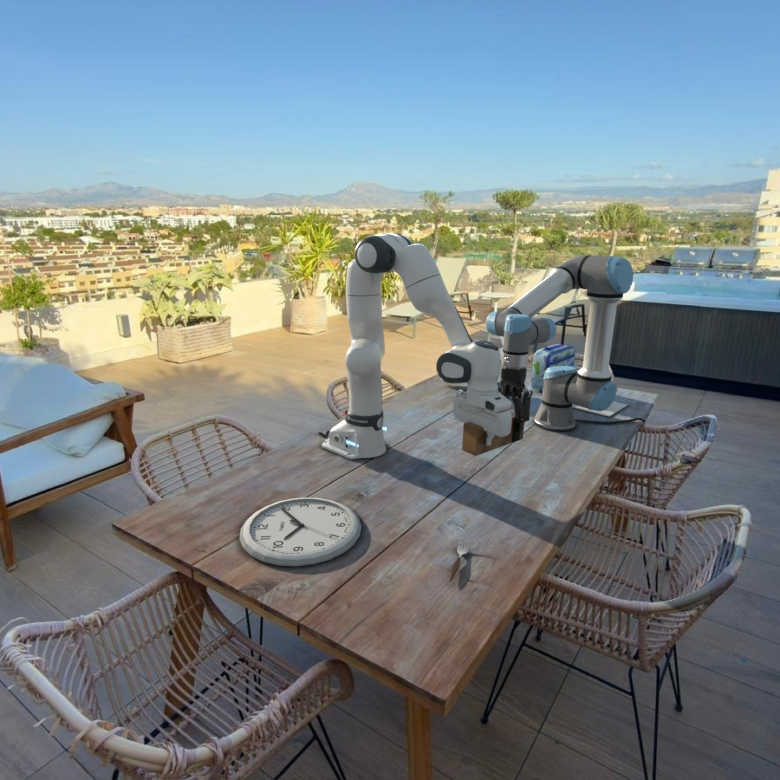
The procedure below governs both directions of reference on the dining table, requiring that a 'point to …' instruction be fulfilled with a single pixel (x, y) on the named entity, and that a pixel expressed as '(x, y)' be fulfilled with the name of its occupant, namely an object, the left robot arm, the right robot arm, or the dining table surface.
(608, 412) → the invitation card
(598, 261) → the right robot arm
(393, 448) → the dining table surface
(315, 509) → the wall clock
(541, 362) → the lunch box
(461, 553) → the fork
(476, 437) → the bar
